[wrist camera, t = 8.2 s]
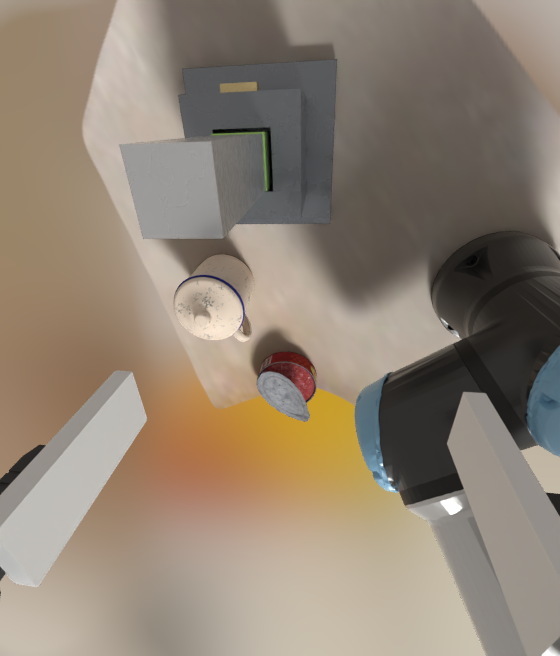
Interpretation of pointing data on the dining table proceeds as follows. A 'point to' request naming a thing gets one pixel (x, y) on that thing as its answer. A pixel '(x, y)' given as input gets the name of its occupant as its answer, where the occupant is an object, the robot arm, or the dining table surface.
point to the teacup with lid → (216, 299)
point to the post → (197, 182)
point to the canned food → (288, 383)
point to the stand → (273, 129)
